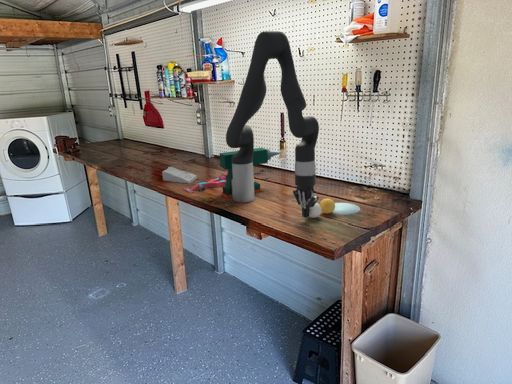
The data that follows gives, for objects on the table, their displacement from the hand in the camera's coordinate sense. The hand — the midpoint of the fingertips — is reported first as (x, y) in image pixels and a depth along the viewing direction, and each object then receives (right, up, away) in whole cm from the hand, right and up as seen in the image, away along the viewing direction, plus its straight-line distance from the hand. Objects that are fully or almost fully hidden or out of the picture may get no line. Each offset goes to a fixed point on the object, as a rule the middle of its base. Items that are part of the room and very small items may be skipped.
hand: (305, 216), depth 142 cm
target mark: (+16, +3, +11) cm, 20 cm away
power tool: (-20, +10, +42) cm, 47 cm away
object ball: (+9, +4, +6) cm, 12 cm away
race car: (-43, +11, +52) cm, 69 cm away
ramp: (-62, +16, +71) cm, 96 cm away
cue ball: (+3, +2, +3) cm, 5 cm away
